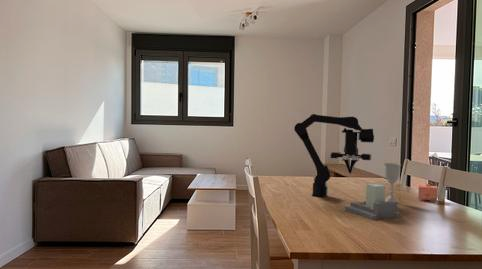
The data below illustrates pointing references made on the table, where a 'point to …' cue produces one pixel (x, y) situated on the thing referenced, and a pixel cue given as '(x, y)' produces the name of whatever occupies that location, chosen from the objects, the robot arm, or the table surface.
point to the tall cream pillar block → (374, 194)
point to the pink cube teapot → (427, 192)
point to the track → (375, 210)
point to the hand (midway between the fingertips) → (350, 173)
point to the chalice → (392, 177)
